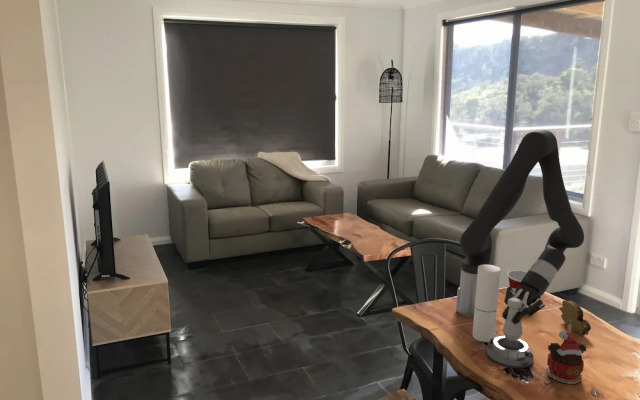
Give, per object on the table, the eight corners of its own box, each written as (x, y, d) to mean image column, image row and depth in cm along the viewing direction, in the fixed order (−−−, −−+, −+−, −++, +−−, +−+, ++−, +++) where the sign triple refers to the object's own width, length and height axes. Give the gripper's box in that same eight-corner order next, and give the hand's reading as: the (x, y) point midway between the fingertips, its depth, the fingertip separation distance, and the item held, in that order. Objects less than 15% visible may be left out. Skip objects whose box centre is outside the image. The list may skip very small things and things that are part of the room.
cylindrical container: (494, 334, 177) (500, 266, 172) (493, 343, 171) (500, 273, 165) (472, 330, 180) (478, 263, 174) (471, 339, 173) (477, 270, 168)
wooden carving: (594, 339, 174) (598, 312, 172) (582, 340, 173) (585, 313, 171) (564, 318, 190) (567, 293, 188) (553, 319, 189) (556, 294, 187)
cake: (572, 368, 156) (580, 313, 152) (589, 385, 147) (597, 328, 143) (538, 368, 156) (545, 314, 152) (553, 385, 147) (560, 328, 143)
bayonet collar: (478, 357, 162) (479, 344, 161) (497, 341, 172) (498, 329, 171) (522, 373, 153) (524, 360, 152) (539, 356, 163) (540, 343, 162)
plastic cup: (514, 309, 197) (517, 280, 194) (499, 298, 207) (501, 271, 205) (539, 307, 199) (542, 279, 197) (523, 296, 210) (526, 269, 207)
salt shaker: (523, 343, 157) (526, 304, 155) (503, 341, 159) (507, 302, 156) (519, 334, 163) (523, 296, 160) (501, 332, 164) (504, 295, 161)
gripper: (516, 263, 166) (486, 306, 163) (553, 277, 154) (521, 323, 151) (526, 276, 169) (497, 318, 166) (563, 291, 157) (532, 335, 154)
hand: (508, 320), depth 159 cm, fingers closed on salt shaker, 3 cm apart
